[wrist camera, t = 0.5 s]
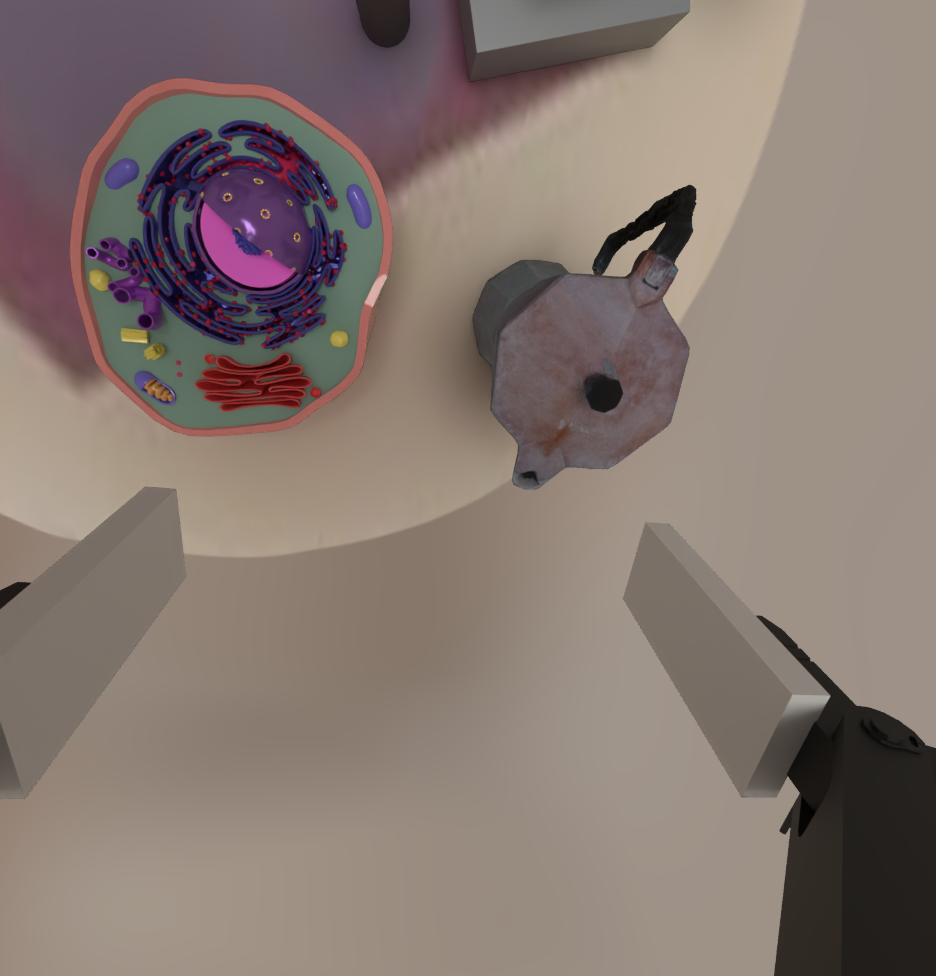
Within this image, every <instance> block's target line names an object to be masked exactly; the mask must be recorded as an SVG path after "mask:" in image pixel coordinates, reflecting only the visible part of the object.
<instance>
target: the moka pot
mask: <svg viewBox="0 0 936 976" xmlns="http://www.w3.org/2000/svg"><path fill="white" fill-rule="evenodd" d="M695 200H696V189H695V187H694V186H692V185H688V186H686V187H683V188H681V189H678V190H677V191H674V192H673V193H672V194H671V195H669V196H666V197H664V198H663V199H661V200H658V201H656V202H655V203H654V204H653V205H652V207H651V208H650V209H649V210H648V211H645V212H644V213H643V214H642V215H640V216H639V217H638V218H637V219H636V220H635V222H631V223H629V224H628V225H627V226H626V227H625V228H622V229H620V230H618V231H617V232H614V233H612V234H610V235H609V236H608V237H607V239H606V240H605V242H604V244H603V246H602V248H601V250H600V252H599V253H598V255H597V257H596V258H595V260H594V264H593V267H592V269H593V271H594V274H595V275H591V274H570V273H569V272H568V271H567V270H566V269H565V268H564V267H563V266H562V265H561V264H559V263H553V262H546V261H538V260H521V261H519V262H517V263H515V264H513V265H511V266H510V267H508V268H506V269H505V270H503V271H502V272H500V273H498V274H497V275H495V276H494V277H493V278H491V279H489V280H488V282H487V284H486V285H485V287H484V289H483V291H482V293H481V296H480V299H479V301H478V304H477V306H476V308H475V311H474V315H473V324H474V332H475V337H476V342H477V346H478V350H479V353H480V355H481V356H482V357H483V358H484V359H485V360H486V361H487V362H488V363H489V364H490V365H491V366H492V367H493V369H492V388H491V409H490V410H491V412H492V413H493V415H494V416H495V418H496V419H497V420H498V421H499V422H500V423H501V425H502V426H503V427H504V428H505V429H506V430H507V431H508V432H509V433H510V434H511V436H512V437H513V438H514V439H515V441H516V442H517V444H518V454H517V458H516V462H515V467H514V471H513V478H512V481H513V484H514V485H515V486H517V487H520V488H523V489H538V488H540V487H541V486H542V485H544V484H545V483H546V482H547V481H549V480H550V479H551V478H552V477H554V476H555V475H556V474H558V473H559V472H560V471H561V470H563V469H565V468H567V467H577V468H588V469H609V468H610V467H612V466H614V465H616V464H617V463H619V462H620V461H622V460H623V459H624V458H626V457H627V456H628V455H630V454H631V453H632V452H634V451H635V450H636V449H638V448H639V447H640V446H641V445H643V444H644V443H646V442H647V441H648V440H650V439H651V438H652V437H654V436H655V435H657V434H658V433H660V432H661V431H662V430H664V429H665V428H666V427H667V426H668V425H669V424H670V422H671V420H672V416H673V413H674V409H675V406H676V402H677V399H678V395H679V391H680V387H681V383H682V379H683V376H684V372H685V368H686V364H687V361H688V357H689V349H690V348H689V345H688V343H687V341H686V338H685V336H684V335H683V334H682V332H681V331H680V329H679V328H678V326H677V324H676V323H675V321H674V319H673V318H672V317H671V315H670V313H669V312H668V310H667V308H666V306H665V304H664V302H663V297H664V295H665V294H666V292H667V290H668V289H669V287H670V285H671V284H672V282H673V280H674V278H675V276H676V274H677V272H678V269H677V267H676V266H675V264H674V263H675V260H676V258H677V257H678V255H679V254H680V252H681V251H682V249H683V248H684V246H685V245H686V243H687V242H688V240H689V238H690V236H691V234H692V232H693V228H692V215H693V211H694V208H695V205H696V202H695ZM664 222H666V224H665V226H664V228H663V229H662V231H661V232H660V234H659V235H658V237H657V238H656V240H655V241H654V242H653V244H652V245H651V246H650V247H649V248H648V250H645V251H642V252H641V253H640V254H639V256H638V257H637V259H636V260H635V262H634V265H633V268H632V271H631V273H630V274H628V275H627V276H625V277H613V276H602V274H603V273H604V272H605V270H606V269H607V267H608V265H609V263H610V261H611V259H612V257H613V256H614V255H615V253H616V252H617V251H618V250H619V249H620V248H621V247H622V246H623V245H625V244H626V243H627V242H628V240H629V241H632V240H634V239H636V238H637V237H639V236H640V235H642V234H643V233H644V232H645V231H649V230H653V229H654V227H657V226H658V225H660V224H662V223H664Z"/></svg>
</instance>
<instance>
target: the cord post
mask: <svg viewBox="0 0 936 976" xmlns="http://www.w3.org/2000/svg"><path fill="white" fill-rule="evenodd" d="M356 3H357V7H358V11H359V15H360V19H361V23H362V26H363V29H364V31H365V33H366V34H367V36H368V37H369V38H370V39H371V40H372V41H373V42H374V43H375V44H377V45H379V46H382V47H392V46H395V45H397V44H399V43H400V42H401V41H402V40H403V39H404V37H405V36H406V34H407V32H408V29H409V24H410V8H409V0H356Z"/></svg>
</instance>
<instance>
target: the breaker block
mask: <svg viewBox="0 0 936 976" xmlns="http://www.w3.org/2000/svg"><path fill="white" fill-rule="evenodd" d="M457 1H458V7H459V14H460V21H461V28H462V35H463V42H464V49H465V56H466V63H467V70H468V77H469V82H472V81H477V80H482V79H487V78H492V77H497V76H503V75H508V74H513V73H518V72H523V71H528V70H533V69H539V68H544V67H549V66H554V65H559V64H564V63H569V62H575V61H580V60H585V59H590V58H595V57H600V56H606V55H611V54H616V53H621V52H626V51H631V50H636V49H642V48H647V47H652V46H654V45H655V44H656V43H657V42H658V41H659V40H660V39H661V38H662V37H663V36H664V35H665V34H666V33H668V32H669V31H670V30H671V29H672V28H673V27H674V26H675V25H676V24H677V23H678V22H679V21H680V20H681V19H682V18H684V17H685V16H686V15H687V14H688V13H689V12H690V0H457Z"/></svg>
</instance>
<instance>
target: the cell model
mask: <svg viewBox="0 0 936 976" xmlns="http://www.w3.org/2000/svg"><path fill="white" fill-rule="evenodd" d="M392 246H393V233H392V223H391V217H390V211H389V206H388V203H387V200H386V197H385V194H384V191H383V188H382V185H381V182H380V180H379V178H378V176H377V174H376V172H375V170H374V168H373V166H372V164H371V163H370V161H369V160H368V158H367V157H366V156H365V155H364V153H363V152H362V151H361V150H360V148H359V147H357V146H356V145H355V144H354V143H353V142H352V141H351V140H350V139H349V138H348V137H346V136H345V135H344V134H343V133H341V132H340V131H339V130H337V129H336V128H335V127H333V126H332V125H331V124H329V123H328V122H327V121H325V120H324V119H323V118H321V117H320V116H318V115H317V114H315V113H314V112H312V111H311V110H309V109H308V108H306V107H305V106H304V105H302V104H301V103H299V102H298V101H296V100H295V99H293V98H292V97H290V96H289V95H286V94H284V93H282V92H280V91H277V90H275V89H273V88H271V87H267V86H261V85H254V84H220V83H214V82H208V81H202V80H195V79H189V78H179V79H169V80H166V81H162V82H159V83H156V84H153V85H151V86H149V87H147V88H146V89H144V90H142V91H140V92H139V93H137V94H136V95H135V96H134V97H133V98H132V99H131V100H130V101H129V102H128V103H126V104H125V106H124V107H123V109H122V110H121V112H120V113H119V115H118V116H117V118H116V119H115V120H114V122H113V123H112V125H111V126H110V128H109V129H108V131H107V132H106V133H105V134H104V136H103V137H102V138H101V140H100V141H99V142H98V144H97V145H96V146H95V147H94V149H93V150H92V151H91V153H90V154H89V156H88V158H87V160H86V163H85V165H84V167H83V170H82V173H81V178H80V183H79V188H78V193H77V198H76V203H75V208H74V214H73V221H72V229H71V242H70V261H71V272H72V278H73V284H74V288H75V292H76V295H77V299H78V303H79V307H80V311H81V314H82V318H83V321H84V325H85V328H86V332H87V336H88V339H89V343H90V346H91V349H92V352H93V355H94V358H95V361H96V363H97V365H98V366H99V368H100V369H101V370H102V372H103V373H104V375H105V376H106V377H107V378H108V379H109V380H110V381H112V382H113V383H114V384H115V385H116V386H117V387H118V388H119V389H120V390H121V391H122V392H123V393H124V394H125V395H127V396H128V397H129V398H130V399H131V400H132V401H133V402H134V403H136V404H137V405H138V406H139V407H140V408H141V409H142V410H143V411H145V412H146V413H147V414H148V415H149V416H150V417H151V418H152V419H154V420H155V421H157V422H159V423H160V424H162V425H164V426H166V427H167V428H169V429H171V430H172V431H174V432H177V433H181V434H185V435H189V436H227V435H238V434H249V433H259V432H270V431H278V430H282V429H286V428H290V427H292V426H294V425H296V424H298V423H299V422H301V421H302V420H303V419H305V418H306V417H307V416H309V415H310V414H311V413H313V412H314V411H315V410H317V409H318V408H320V407H321V406H323V405H324V404H326V403H327V402H329V401H331V400H332V399H334V398H335V397H337V396H338V395H339V394H340V393H342V392H343V391H344V390H345V389H347V388H348V387H349V386H350V384H351V383H352V382H353V381H354V380H355V379H356V378H357V376H358V375H359V373H360V371H361V369H362V367H363V363H364V358H365V352H366V346H367V343H368V341H369V338H370V335H371V332H372V329H373V326H374V323H375V318H376V312H377V307H378V301H379V297H380V293H381V290H382V287H383V285H384V283H385V281H386V278H387V274H388V271H389V267H390V262H391V254H392Z"/></svg>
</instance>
